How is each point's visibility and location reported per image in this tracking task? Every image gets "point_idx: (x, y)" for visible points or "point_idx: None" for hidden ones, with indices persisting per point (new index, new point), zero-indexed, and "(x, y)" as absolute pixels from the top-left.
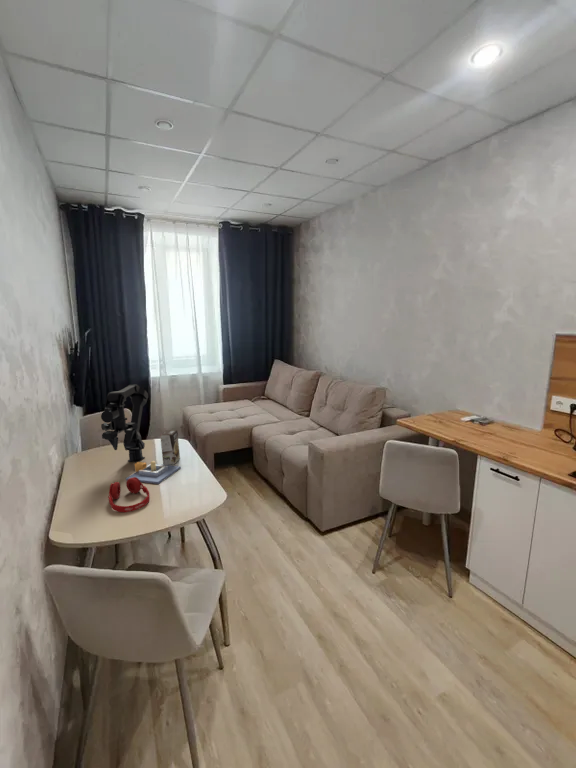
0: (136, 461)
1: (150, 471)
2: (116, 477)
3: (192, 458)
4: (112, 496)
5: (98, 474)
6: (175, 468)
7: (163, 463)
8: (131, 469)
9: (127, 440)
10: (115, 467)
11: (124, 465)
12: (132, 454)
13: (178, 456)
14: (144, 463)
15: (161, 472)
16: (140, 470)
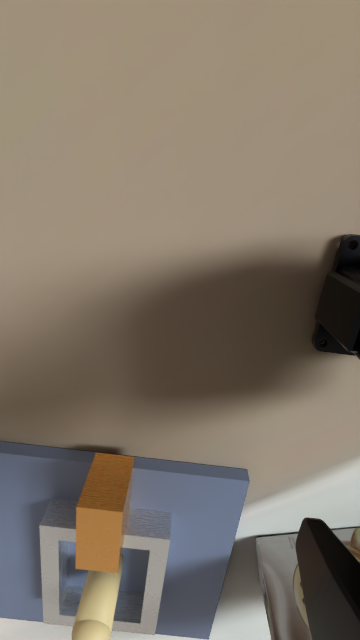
0: (314, 342)
1: (50, 590)
2: (3, 348)
3: None
4: None
5: (6, 129)
6: (176, 629)
7: (256, 548)
8: (162, 375)
9: (333, 598)
10: (190, 199)
11: (242, 263)
12: (344, 346)
13: None
14: (99, 568)
15: None
16: (48, 534)
